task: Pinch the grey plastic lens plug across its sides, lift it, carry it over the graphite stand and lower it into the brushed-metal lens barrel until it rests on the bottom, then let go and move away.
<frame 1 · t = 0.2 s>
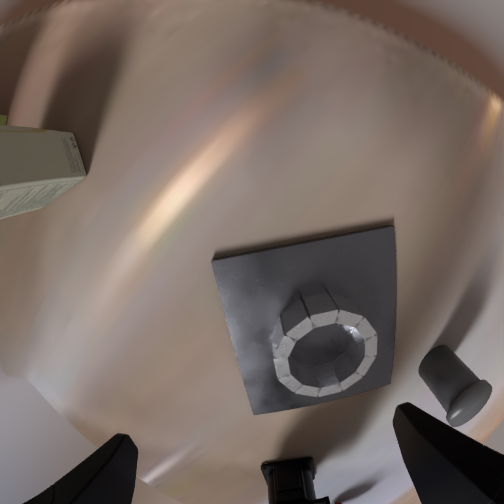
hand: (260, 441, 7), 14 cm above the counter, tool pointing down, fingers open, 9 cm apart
skincare box: (56, 172, 19), on the counter
lens plug: (434, 362, 24), on the counter
barrel stand: (318, 333, 23), on the counter
strawberry: (337, 502, 33), on the counter
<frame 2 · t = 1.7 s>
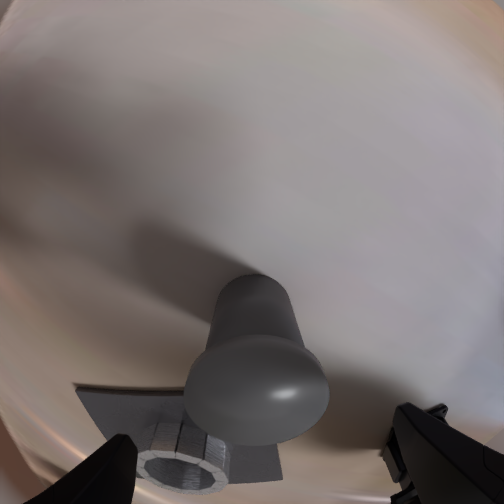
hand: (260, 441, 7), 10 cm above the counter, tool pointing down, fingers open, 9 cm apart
lens plug: (253, 309, 17), on the counter
barrel stand: (185, 444, 20), on the counter
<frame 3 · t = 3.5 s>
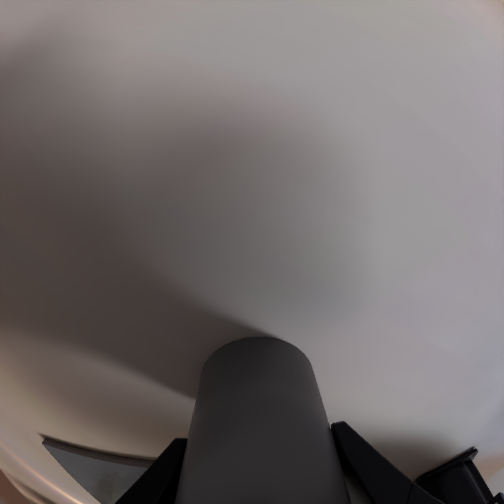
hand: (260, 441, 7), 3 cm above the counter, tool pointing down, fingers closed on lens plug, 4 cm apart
lens plug: (257, 383, 10), on the counter, touching gripper
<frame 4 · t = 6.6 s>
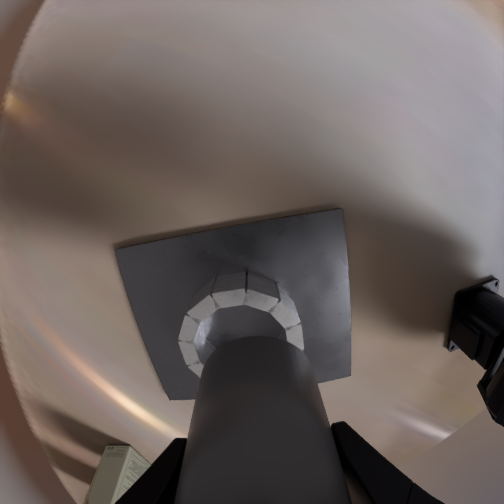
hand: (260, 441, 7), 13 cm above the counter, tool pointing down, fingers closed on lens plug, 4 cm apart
skincare box: (132, 457, 26), on the counter
lens plug: (257, 382, 10), point 10 cm above the counter, touching gripper
barrel stand: (242, 320, 21), on the counter
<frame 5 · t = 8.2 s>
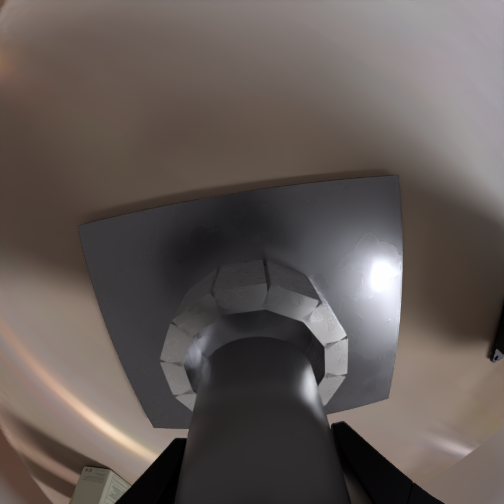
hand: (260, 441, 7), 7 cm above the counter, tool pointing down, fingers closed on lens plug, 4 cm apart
skincare box: (115, 480, 20), on the counter
lens plug: (257, 382, 10), point 4 cm above the counter, touching gripper
barrel stand: (254, 330, 14), on the counter
when the fingers open (5 cm above the counter, at t = 9.6 s): lens plug stays where it is, resting on barrel stand.
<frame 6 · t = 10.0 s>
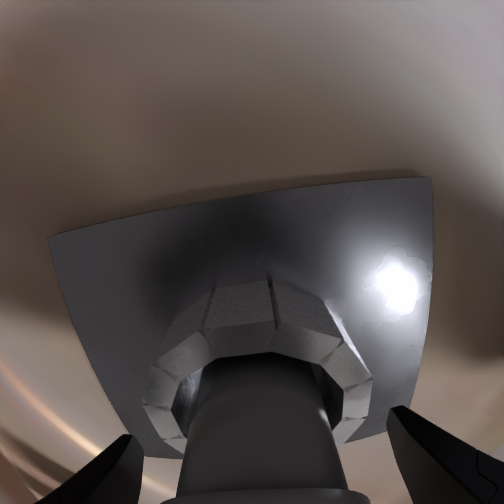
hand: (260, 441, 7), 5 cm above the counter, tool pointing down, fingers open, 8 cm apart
lens plug: (256, 368, 11), point 1 cm above the counter, touching barrel stand
barrel stand: (256, 360, 12), on the counter
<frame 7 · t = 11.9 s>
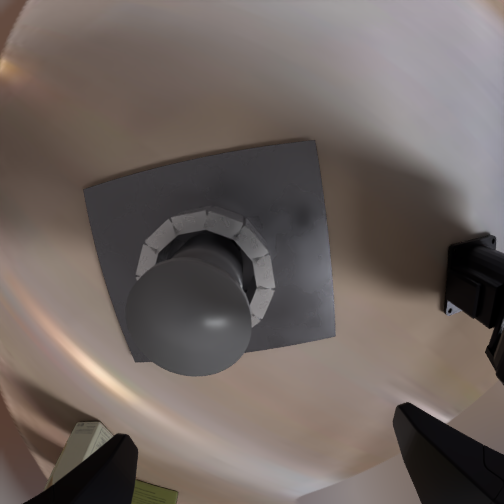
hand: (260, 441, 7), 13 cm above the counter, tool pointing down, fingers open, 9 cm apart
skincare box: (104, 437, 24), on the counter
lens plug: (209, 266, 18), point 1 cm above the counter, touching barrel stand
protein box: (127, 486, 28), on the counter
barrel stand: (210, 264, 19), on the counter
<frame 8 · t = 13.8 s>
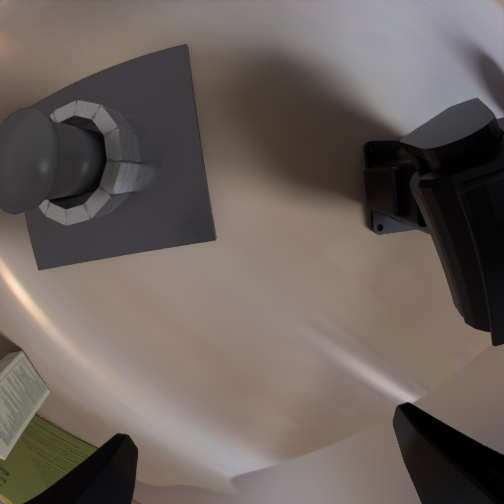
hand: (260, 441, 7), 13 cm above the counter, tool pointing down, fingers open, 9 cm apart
skincare box: (30, 372, 23), on the counter
lens plug: (91, 162, 17), point 1 cm above the counter, touching barrel stand
protein box: (61, 443, 27), on the counter
barrel stand: (95, 163, 18), on the counter
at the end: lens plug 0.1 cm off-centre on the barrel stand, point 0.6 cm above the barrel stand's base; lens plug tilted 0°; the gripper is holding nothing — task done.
